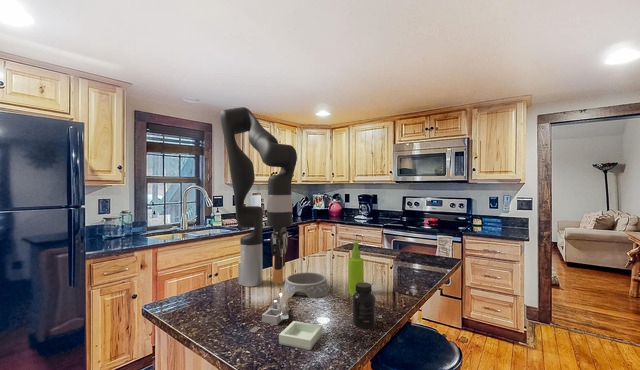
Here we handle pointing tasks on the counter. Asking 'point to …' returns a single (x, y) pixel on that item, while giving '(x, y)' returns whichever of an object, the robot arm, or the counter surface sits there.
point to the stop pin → (277, 272)
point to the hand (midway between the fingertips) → (279, 267)
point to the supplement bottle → (363, 306)
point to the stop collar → (271, 316)
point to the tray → (301, 335)
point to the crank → (281, 305)
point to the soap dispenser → (355, 268)
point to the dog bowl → (306, 285)
